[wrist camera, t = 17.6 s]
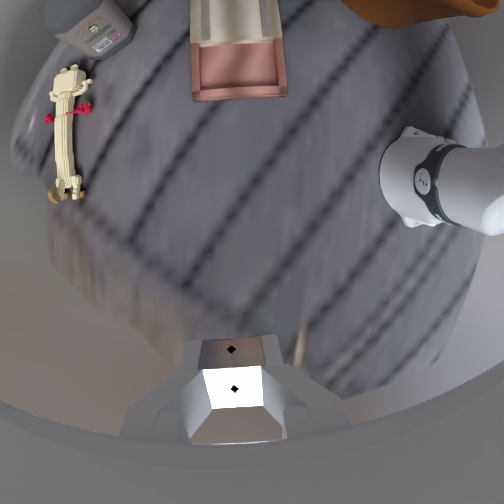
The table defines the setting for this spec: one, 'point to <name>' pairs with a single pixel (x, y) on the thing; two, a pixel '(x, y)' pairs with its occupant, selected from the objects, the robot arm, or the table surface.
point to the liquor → (89, 25)
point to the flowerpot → (418, 10)
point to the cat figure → (67, 129)
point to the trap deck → (236, 50)
